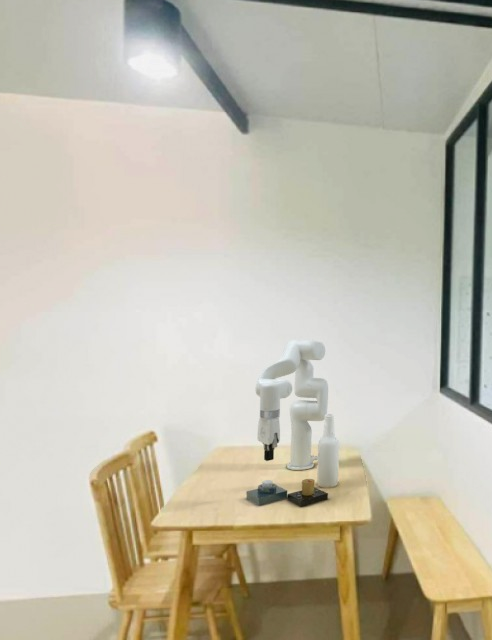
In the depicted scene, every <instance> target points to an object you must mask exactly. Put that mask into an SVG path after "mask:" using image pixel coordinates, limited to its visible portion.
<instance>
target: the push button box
mask: <svg viewBox="0 0 492 640" xmlns="http://www.w3.org/2000/svg"><path fill="white" fill-rule="evenodd" d="M287 499H288V490H287V489H285V488H282V487H281V486H279V485H277V484H276V483H274V482H273V487H270V488H262V483H261V484H258V485H257V488H255V489H250V490H247V491H246V500H247V501H249V502H251V503H253V504H255V505H256V506H257V507H260V506H264V505H267V504H271V503H274V502H279V501H282V500H287Z"/></svg>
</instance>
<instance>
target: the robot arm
mask: <svg viewBox="0 0 492 640" xmlns="http://www.w3.org/2000/svg"><path fill="white" fill-rule="evenodd" d="M325 355H326V347H325V344H324V343H323V342H321V341H317V340H314V339H313V340H311V339H291V340H289V341H287V342H286V344H285V347H284V349H283V351H282V353H281V355H280V356H279V359H278V360H277V361H275V362H274V363H272V364H270V365H269V366H267V367H266V368H265V369H264V370H263V371H262V372H261V373H260V375H259V377H258V379H257V381H256V384H255V395H256V396H257V397H259V419H258V424H257V441H259V442H260V443H262V444H263V450H264V454H263V460H264V461H266V462H268V461H273V460H274V459H275V457H274V456H275V455H274V454H275V449H276V448H278V443H280V440H281V424H280V418H281V417H280V416H281V399H286V398H288V397H289V396H290V395H291V394H292V392H293V390H294V395H295V396H296V397H298V398H305V399H316V400H305V399H303V400H301V399H299V400H295V401H293V402H292V403H291V404H290V406H289V417H290V461H289V462H288V463H287V464H286V468H287V469H288V470H293V471H304V470H305V471H306V470H309V469H312V468H313V467H314V466H315V461H318V455H312V426H311V424H310V423H309V422H322V421H325V415H327V414H328V403H329V401H328V400H329V383H328V381H327V380H326V379H325V378H323V377H314V365H313V363H312V362H311V361H321V360H323V359H324V357H325ZM291 374H294V389H293V384H292V383H291V381H289V380H287V379H278V378H282V377H285V376H289V375H291Z"/></svg>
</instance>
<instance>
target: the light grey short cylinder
mask: <svg viewBox="0 0 492 640" xmlns="http://www.w3.org/2000/svg"><path fill="white" fill-rule="evenodd" d="M273 483H274V482H273V480H271V479H270V480H269V479H266V480H262V481H261V484H262V488H270V487H273Z"/></svg>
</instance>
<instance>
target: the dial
mask: <svg viewBox="0 0 492 640" xmlns="http://www.w3.org/2000/svg"><path fill="white" fill-rule="evenodd" d="M315 482H316V481H315V479H313V478H305V479H302V480H301V490H302V495H305V496H309V495H313V494H314V487H315Z"/></svg>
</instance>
